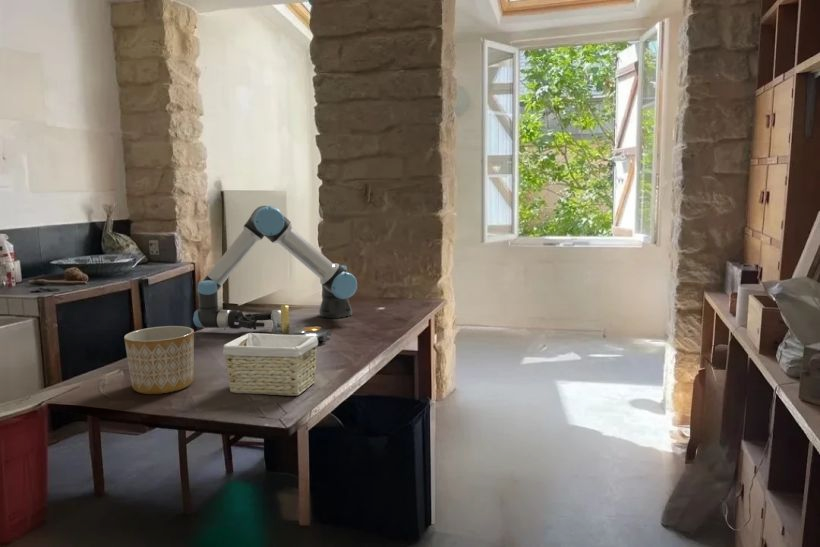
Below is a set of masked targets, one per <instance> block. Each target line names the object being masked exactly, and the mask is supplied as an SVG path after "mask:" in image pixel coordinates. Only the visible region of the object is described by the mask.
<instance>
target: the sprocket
mask: <svg viewBox="0 0 820 547" xmlns="http://www.w3.org/2000/svg"><path fill="white" fill-rule="evenodd" d="M289 307H290V306H289V304H282V305H280V310H281V329H282V330H280V329H279V330H276V331H275V334H277V335H305V336H316V337H317V340H318V342H325V341H327V340H328V336H330V337H331V336H332V331H331V330H330V329H325V328H322V327H321V326H293V327H291V328H290V311H289V310H290V308H289Z"/></svg>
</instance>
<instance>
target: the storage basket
mask: <svg viewBox="0 0 820 547" xmlns="http://www.w3.org/2000/svg"><path fill="white" fill-rule="evenodd" d="M318 346H319V341H318V340H317V337H316V336H305V335H277V334H273V333H258V332H257V333H256V332H255V333H253V332H249V333H245V334H243V335H241V336H240V337H237V338H235V339H232V340H231V341H229V342H227V343H225V344H224V345H223V351H222V353H223V355H224V358H225V364H226V373H227V380H228V386H229V391H230V393H235V394H252V395H267V396H269V395H271V396H295V397H296V396H300V395H301V394H303V393H304V392H305V391H306V390H307V389H309V388H310V387H311V386H312V385H313V384H314V383H315V382H316V373H317V372H316V370H317V367H316V366H317V351H318V350H317V347H318Z"/></svg>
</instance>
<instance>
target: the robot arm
mask: <svg viewBox="0 0 820 547" xmlns="http://www.w3.org/2000/svg"><path fill="white" fill-rule="evenodd" d="M242 227H243V230H242V231H241V233H240V234H239V235H238V236H237V238H236V239H235V240H234V241H233V242H232V244H231V245H230V246H229V247H228V248H227V250H226V251H225V252H224V253H223V255H222V256H221V257H220V259H219V260H218V261H217V262H216V263H215V265H214V266H213V267H212V269H211V270H210V271H209V272H208V273H207V274H206V276H205V278H204V279H203V280H200V281H199V282H198V283H197V286H196V287H197V288H196V292H197V296H198V309H196V310H195V311H194V313H193V316H192V317H193V318H192V321H193V324H194V325H195V327H198V328H202V329H203V328H204V329H224V330H227V329H233V330H239V329H241V328H243V329H249V330H254V331H255V330H257V328H258V329H273V321H272V311H269V312H257V313H246V314H245V315H244V314H243V312H242V310H236V309H235V310H234V309H233V310H231V309H219V301H218V300H219V297H218V291H219V290H220V289H221V288H222V286H223V284H225V282H226V281H227V279H228V278H229V277H230V276H231V274H232V273H233V272H234V270H235V269H236V268H237V267H238V266H239V265H240V264H241V262H242V261H243V260H244V259H245V257H246V256H247V255H248V254H249V252H250V251H251V250H252V249H253V247H254V246H255V245H256V243H258V241H262V240H263V238H266V239H268V241H270V242H272V244H276V243H277V244H279V245H280V246H281V247H283V248H284V249H285V250H286V251H287V252H288V253H290V254H291V255H292V256H293V257H294V258H295V259H296V260H298V261H299V262H300V263H301V264H303V265H304V266H305V267H306V268H307V269H309V270H310V271H311V272H312V273H313V274H314V275H315V276H316V277H317V278H319V282H320V283H319V284H321V289H322V290H321V293H322V294H321V295H322V300H321V303H320V307H319V311H318V316H319V317H320V316H321V318H324V317H326V318H327V319H340V318H341V317H342V318H346V316H348V317H350V315H351V316H352V315H353V310H352V307H351V304H350V300H349V299H350V298H351V297H352V296H354V295H355V293H356V292H357V290H358V281H357V278H356V276H354V274H353V273H351V272H348V267H347V265H341V264H339V263H335V262H334V263H333V262H332V261H331V260H330V259H328V258H327V256H325V255H324V254H323V253H322V252H320V251H319V250H318V249H317V248H316V247H315V246H313V245H312V244H311V243H310V242H309V241H308V240H306V238H304V237H303V236H302V235H301V234H300V233H299V232H298V231H297V230H295V229H294V228H293V227H292V222H291V220H289V219H288V218H287V217H286V216H284V214H283V213H282V212H281V210H280V209H278V208H277V207H276V206H272V205H271V206H270V205H261V206H258V207H257V208H256V209H255V210H254V211H252V213H251V214H250V216H249V218H248V219H247V221H246V222H245V223H244V225H243V226H242ZM342 318H341V319H342Z"/></svg>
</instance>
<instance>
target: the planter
mask: <svg viewBox="0 0 820 547" xmlns="http://www.w3.org/2000/svg"><path fill="white" fill-rule="evenodd" d="M194 333H195V330H194V329H193V328H191V327H189V326H181V325H179V326H178V325H166V326H165V325H164V326H154V327H147V328H143V329H142V328H141V329H138V330H133V331H131V332H128V333H126V334H125V335H124V337H123V340H124V344H125V351H126V357H127V364H128V370H129V376H130V382H131V383H130V384H131V387H132V389H133V390H134V391H135V392H137V393H139V394H144V395H163V393H164V394H169V392H170V393H174V391H175V392H177V391H178V392H179V391H181V390H183V389H185V388H187V387H189V386H190V385H191V384H192V382H193V381H194V356H195V355H194V351H195V350H194V348H195V347H194V345H195V344H194V343H195V341H194V340H195V334H194Z"/></svg>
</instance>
